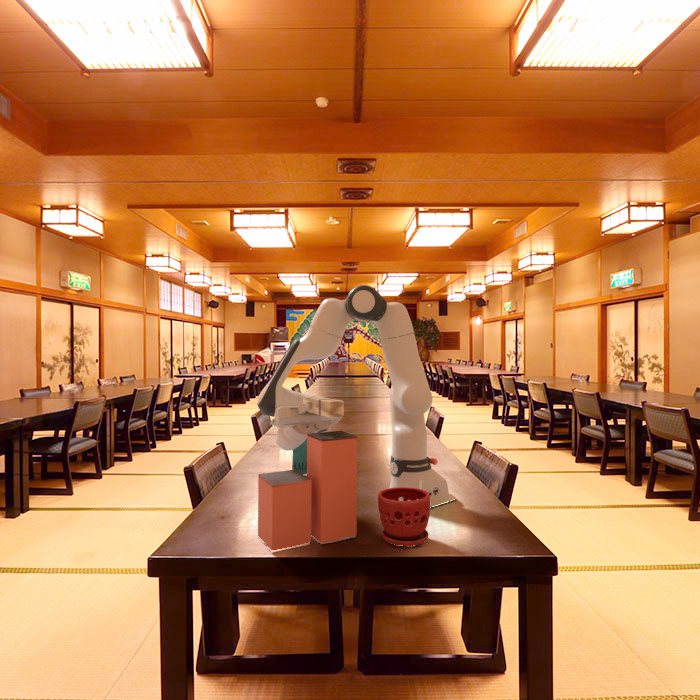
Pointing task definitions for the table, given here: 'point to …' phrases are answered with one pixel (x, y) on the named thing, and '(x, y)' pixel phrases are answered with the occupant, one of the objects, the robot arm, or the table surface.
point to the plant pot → (404, 515)
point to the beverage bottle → (300, 458)
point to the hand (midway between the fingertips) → (319, 403)
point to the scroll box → (325, 406)
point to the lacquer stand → (311, 495)
